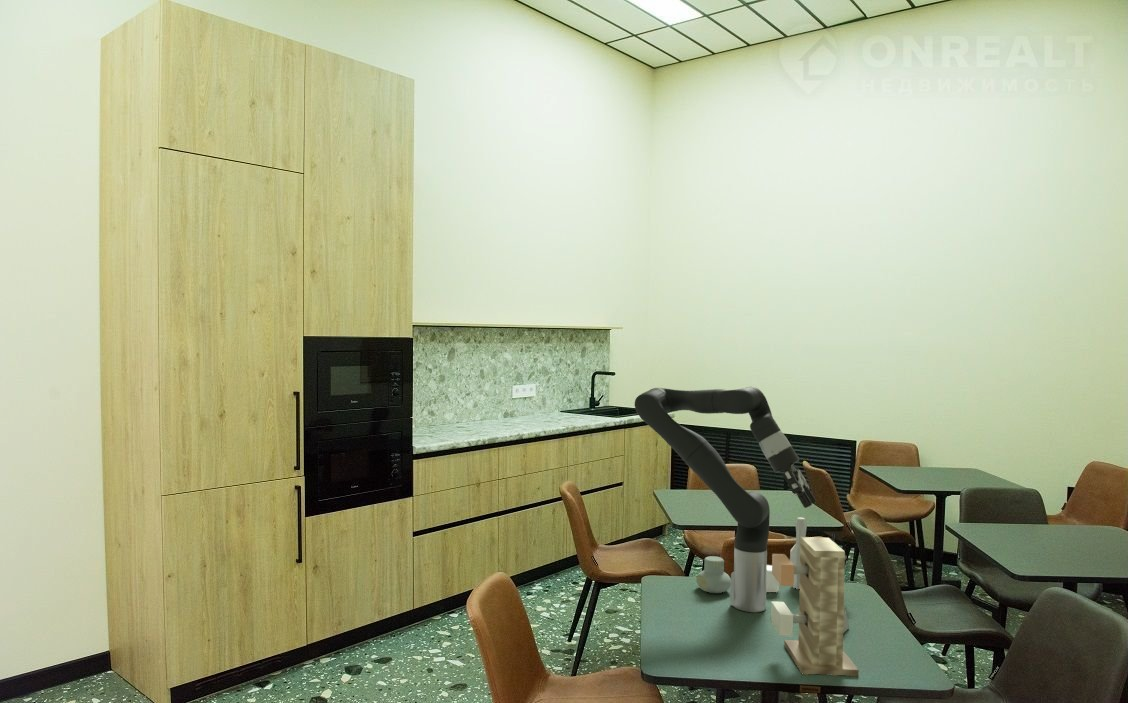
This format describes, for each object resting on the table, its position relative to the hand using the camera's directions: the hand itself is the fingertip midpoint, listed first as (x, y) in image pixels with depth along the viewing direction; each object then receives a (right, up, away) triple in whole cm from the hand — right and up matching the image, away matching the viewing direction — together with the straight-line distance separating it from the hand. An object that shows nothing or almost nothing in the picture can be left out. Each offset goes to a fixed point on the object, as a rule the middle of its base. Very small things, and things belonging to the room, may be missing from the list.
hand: (810, 504), depth 197 cm
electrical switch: (+6, -34, 0) cm, 35 cm away
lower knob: (-11, -26, -18) cm, 34 cm away
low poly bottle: (+8, -34, +35) cm, 49 cm away
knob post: (-4, -34, -18) cm, 39 cm away
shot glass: (-2, -34, +32) cm, 47 cm away
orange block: (-11, -15, -18) cm, 26 cm away
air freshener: (-20, -33, +31) cm, 50 cm away
